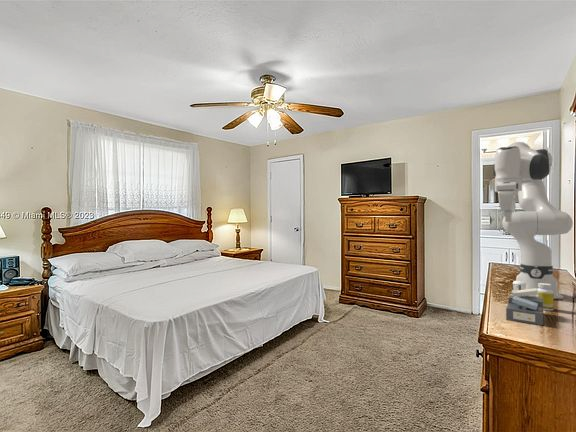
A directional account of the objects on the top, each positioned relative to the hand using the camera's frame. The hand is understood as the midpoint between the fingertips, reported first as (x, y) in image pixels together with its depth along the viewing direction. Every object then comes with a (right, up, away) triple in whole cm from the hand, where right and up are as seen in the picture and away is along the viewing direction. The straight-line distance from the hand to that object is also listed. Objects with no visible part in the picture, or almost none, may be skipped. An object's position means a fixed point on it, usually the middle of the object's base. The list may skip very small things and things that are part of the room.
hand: (508, 221), depth 127 cm
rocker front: (-4, -28, -14) cm, 32 cm away
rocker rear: (+2, -26, -7) cm, 27 cm away
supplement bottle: (+14, -34, -1) cm, 37 cm away
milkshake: (+11, -34, +9) cm, 37 cm away
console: (-1, -34, -11) cm, 36 cm away
